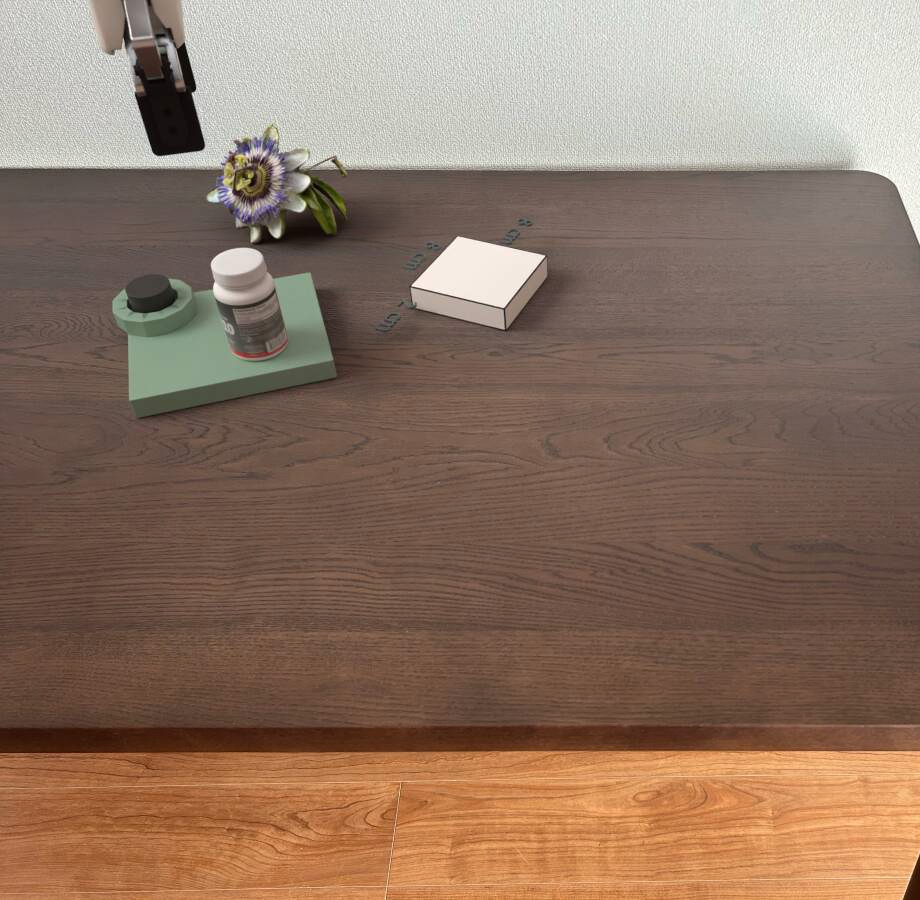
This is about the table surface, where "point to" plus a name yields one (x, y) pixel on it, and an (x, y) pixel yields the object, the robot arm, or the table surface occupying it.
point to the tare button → (150, 293)
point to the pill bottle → (248, 304)
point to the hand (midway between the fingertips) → (176, 121)
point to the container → (476, 281)
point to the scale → (217, 349)
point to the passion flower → (273, 187)
